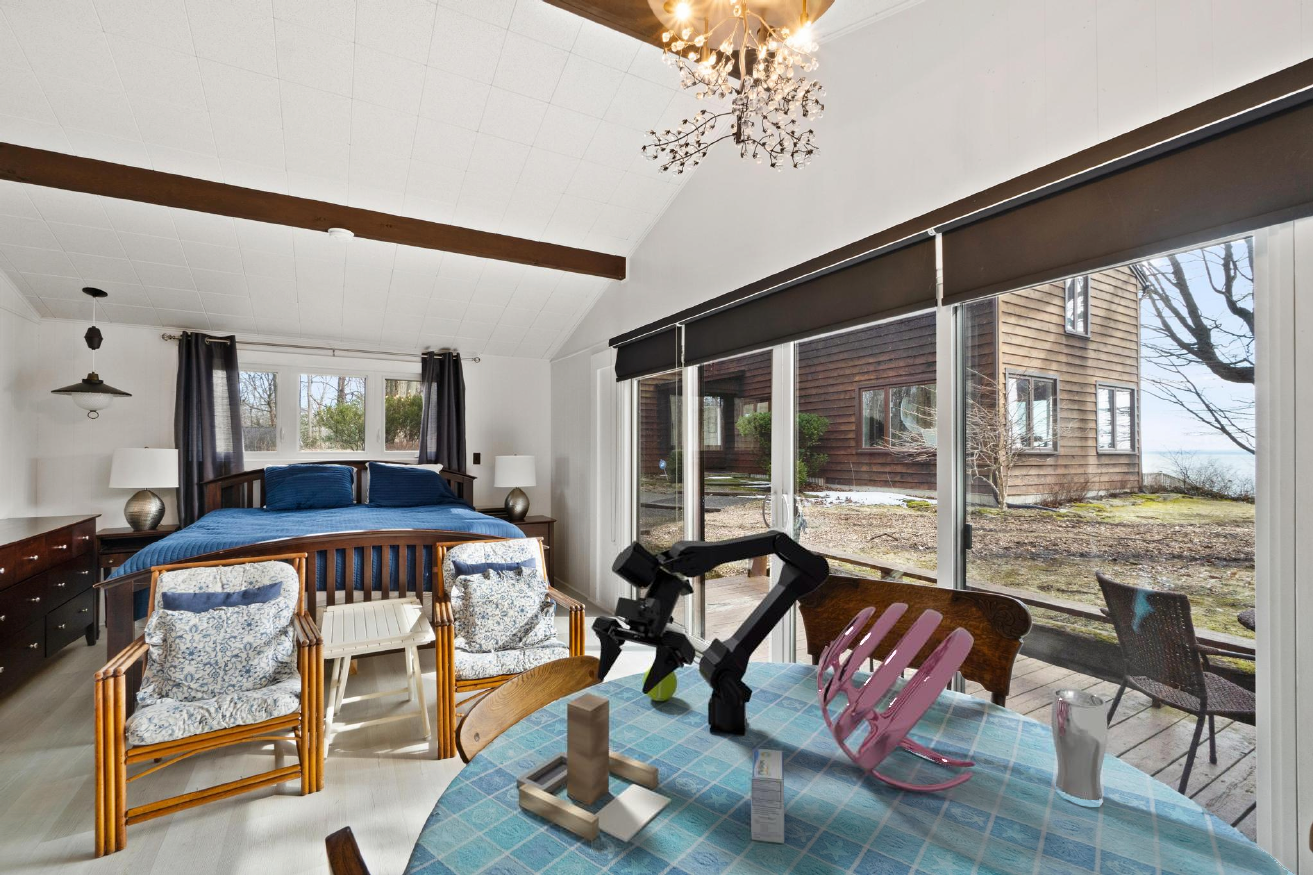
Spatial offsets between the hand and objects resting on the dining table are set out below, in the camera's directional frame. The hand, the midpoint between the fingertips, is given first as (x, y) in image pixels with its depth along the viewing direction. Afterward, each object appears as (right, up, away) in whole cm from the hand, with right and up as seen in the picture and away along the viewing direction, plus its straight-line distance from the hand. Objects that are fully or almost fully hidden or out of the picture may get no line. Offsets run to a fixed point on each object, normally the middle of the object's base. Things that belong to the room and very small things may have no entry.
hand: (621, 686), depth 98 cm
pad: (+2, -14, -11) cm, 18 cm away
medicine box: (+21, -14, -14) cm, 29 cm away
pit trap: (-11, -13, -3) cm, 17 cm away
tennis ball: (+7, -14, +26) cm, 30 cm away
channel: (-5, -13, -7) cm, 16 cm away
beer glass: (+70, -14, -7) cm, 72 cm away
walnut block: (-5, -14, -7) cm, 16 cm away
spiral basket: (+45, -14, +1) cm, 47 cm away
